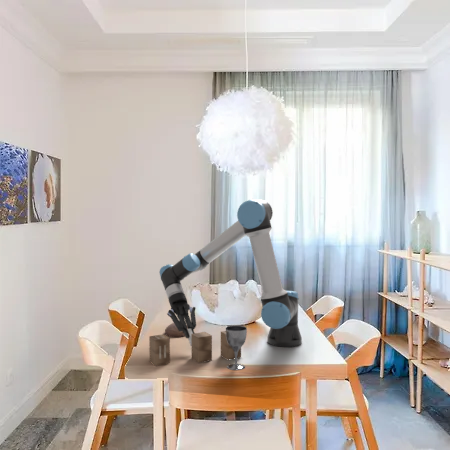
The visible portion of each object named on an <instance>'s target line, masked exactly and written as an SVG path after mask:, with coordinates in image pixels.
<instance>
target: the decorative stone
mask: <svg viewBox="0 0 450 450" xmlns="http://www.w3.org/2000/svg"><path fill="white" fill-rule="evenodd" d="M187 330H188V327H187ZM164 335H166V336H167V337H169V338H170V337H171V338H183V337H185V334H184V333H183V331H179V330H178V329H177V327H176V325H175V324H174V322H172V323H169V325H167V326H166V328H165V330H164Z"/></svg>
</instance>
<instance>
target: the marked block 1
mask: <svg viewBox="0 0 450 450" xmlns="http://www.w3.org/2000/svg"><path fill="white" fill-rule="evenodd" d="M148 342H149V362H150V363H151V362H152V363H153V364H154V365H153V364H152V363H151V364H152V365H153V366H155V367H158V366H159V367H160V366H163V365H169V364H168V363H171V344H170V343H171V341H170V336H167V335H166V334H165V333H164V334H158V335H150V336H149V341H148Z"/></svg>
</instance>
